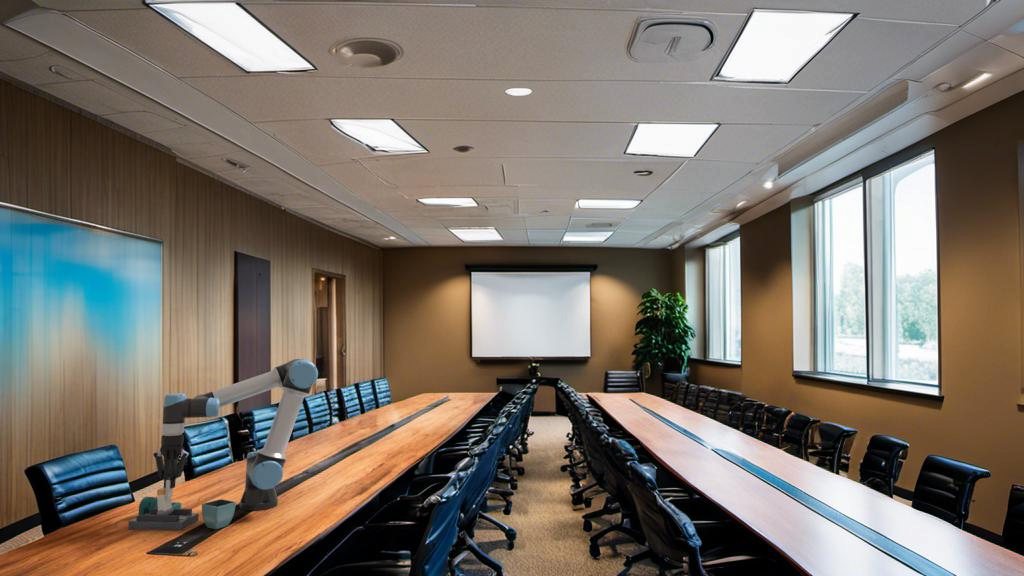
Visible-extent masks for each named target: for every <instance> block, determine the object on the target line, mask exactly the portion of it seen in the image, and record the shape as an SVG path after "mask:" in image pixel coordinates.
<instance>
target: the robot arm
mask: <svg viewBox="0 0 1024 576" xmlns="http://www.w3.org/2000/svg"><path fill="white" fill-rule="evenodd" d="M318 377H319V371H318V368H317V366H316V365H315V364H314V363H313V362H312V361H311V360H308V359H304V358H295V359H292V360H290V361H288V362H285V363H283V364H281V365H278V366H276V367H273V369H272V370H270V371H268V372H265V373H262V374H259V375H256V376H253V377H250V378H248V379H244V380H242V381H239V382H236V383H231V384H230V385H227V386H224V387H221V388H218V389H215V390H213V391H209V392H207V393H204V394H198V395H196V396H194V397H193V398H189V397H187V395H186V393H169V394H168V393H167V394H166V395H165V396H164V399H163V411H162V412H163V413H162V424H161V425H162V426H161V434H162V436H161V438H160V439H161V440H160V444H161V446H160V448H159V450H158V451H157V452H154V453H153V456H154V458H155V462H156V468H157V473H158V474H157V475H158V477H159V479H162V480H163V487H164V488H166V491H165V498H169V497H171V498H172V497H173V495H174V494H173V493H174V488H175V487H176V482H177V481H176V480H177V479H178V478H180V477H181V476H182V473H183V471H184V467H185V465H186V461H187V459H188V457H189V456H190V452H187V451H185V450H184V446H183V445H184V440H185V437H184V434H183V433H185V421H186V419H191V418H193V419H194V418H195V419H196V418H216V417H218V416H219V413H220V408H223V407H225V406H228V405H230V404H231V405H232V404H234V403H236V402H239V401H241V400H244V399H248V398H251V397H254V396H257V395H259V394H262V393H265V392H268V391H272V390H274V389H276V388H279V389H282V391H283V393H282V397H281V399H280V401H279V404H278V407H277V410H276V412H275V415H274V418H273V420H272V424H271V426H270V429H269V431H268V435H267V437H266V440H265V443H264V445H263V447H262V448H261V449H259V450H257V451H251V452H248V453H247V456H246V464H245V465H246V469H245V482H244V483H245V486H244V490H243V492H242V496H241V498H240V501H239V509H240V510H243V511H244V510H245V511H264V510H269V509H272V508H275V507H277V506H278V505H279V498H278V495H277V492H276V488H275V487H277V486H278V485H279V484H280V483H281V481H282V480H283V477H284V470H283V469H284V468H285V467H284V466H285V463H286V461H287V456H286V454H285V452H286V450H287V447H288V444H289V441H290V438H291V435H292V433H293V429H294V427H295V423H296V421H297V418H298V415H299V413H300V409H301V407H302V404H303V401H304V399H305V397H307V396H309V395H310V393H311V390H312V387H313V385H315V383H316V382H317V380H318ZM179 457H180V459H179Z"/></svg>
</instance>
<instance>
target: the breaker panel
mask: <svg viewBox="0 0 1024 576" xmlns="http://www.w3.org/2000/svg"><path fill="white" fill-rule="evenodd" d="M143 515H156V514H151V512H148V513H145V514H143ZM169 515H174V514H169ZM199 517H200V513H198V512H192V514H190V515H179V520H178V521H177V522H172V521H136V519H137V517H135V518H132V519H130V520H128V523H127V529H128V530H135V529H136V531H138V530H140V531H143V530H144V531H183V530H185V529H187V528H188V527H190V525H191V526H193V525H194V524H196V523H198V522H199V521H200V520H199Z"/></svg>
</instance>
